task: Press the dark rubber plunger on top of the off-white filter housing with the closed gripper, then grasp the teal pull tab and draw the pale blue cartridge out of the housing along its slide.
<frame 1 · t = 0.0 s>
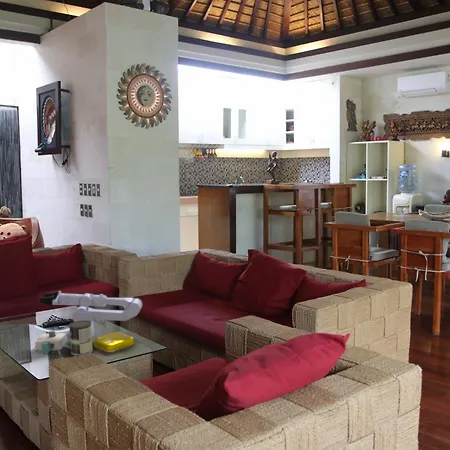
hand: (42, 298, 287), 22 cm above the table, tool horizontal, fingers open, 7 cm apart
cartridge: (49, 343, 274), point 3 cm above the table, slide at 0.0 cm
coffee can: (82, 352, 269), on the table
plunger: (52, 333, 280), point 6 cm above the table, slide at 0.0 cm
element tile: (114, 346, 276), on the table
housing: (51, 346, 279), on the table
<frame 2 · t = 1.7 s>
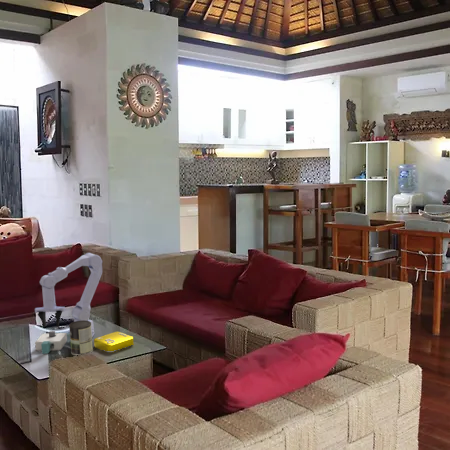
hand: (51, 325, 279), 10 cm above the table, tool pointing down, fingers open, 6 cm apart
nothing on the table moved.
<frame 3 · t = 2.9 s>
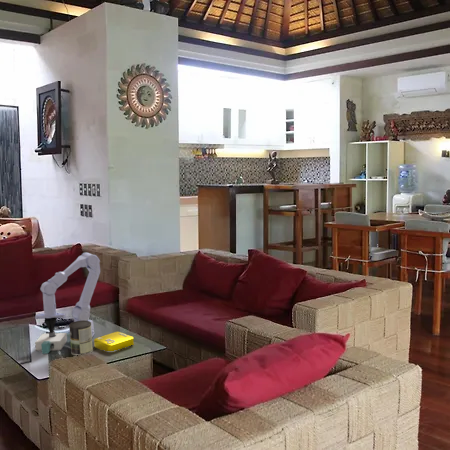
hand: (51, 332, 280), 7 cm above the table, tool pointing down, fingers closed, pressing on plunger
plunger: (52, 334, 280), point 5 cm above the table, slide at 0.2 cm, touching gripper
everything else where it was.
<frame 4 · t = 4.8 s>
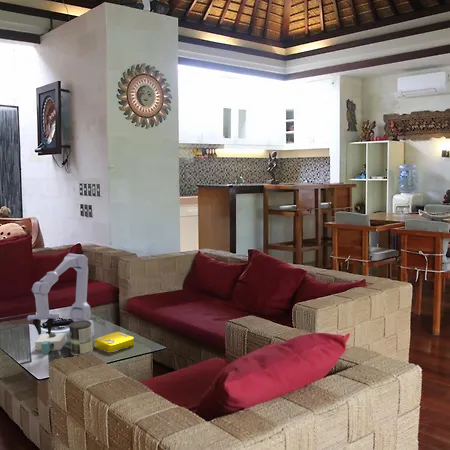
hand: (44, 333, 269), 9 cm above the table, tool pointing down, fingers open, 4 cm apart
plunger: (52, 335, 280), point 5 cm above the table, slide at 0.8 cm
everything else where it was.
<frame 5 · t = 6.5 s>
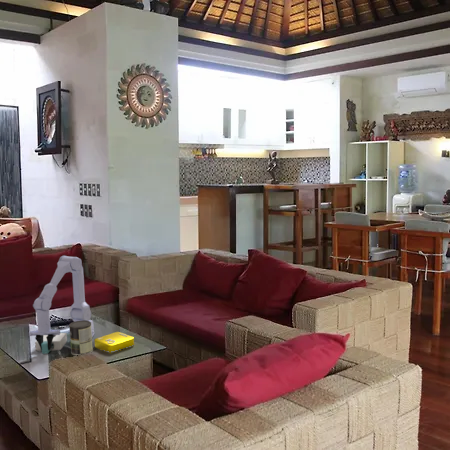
hand: (46, 349, 270), 2 cm above the table, tool pointing down, fingers closed on cartridge, 3 cm apart
cartridge: (49, 343, 274), point 3 cm above the table, slide at 0.0 cm, touching gripper
everything else where it was.
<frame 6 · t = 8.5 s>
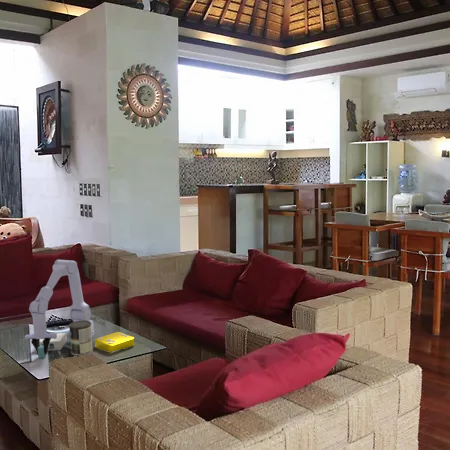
hand: (42, 353, 264), 2 cm above the table, tool pointing down, fingers closed on cartridge, 3 cm apart
cartridge: (45, 347, 269), point 3 cm above the table, slide at 5.6 cm, touching gripper
everything else where it was.
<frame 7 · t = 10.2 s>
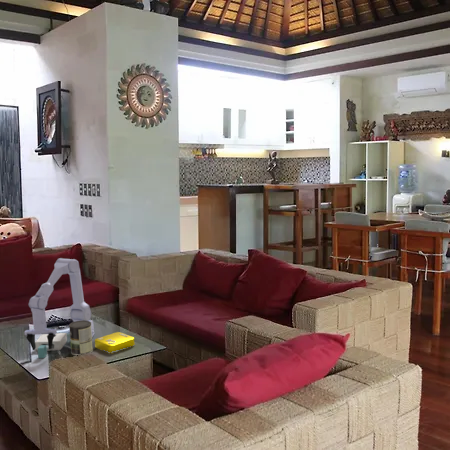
hand: (42, 348, 264), 4 cm above the table, tool pointing down, fingers open, 7 cm apart
cartridge: (45, 347, 269), point 3 cm above the table, slide at 5.6 cm
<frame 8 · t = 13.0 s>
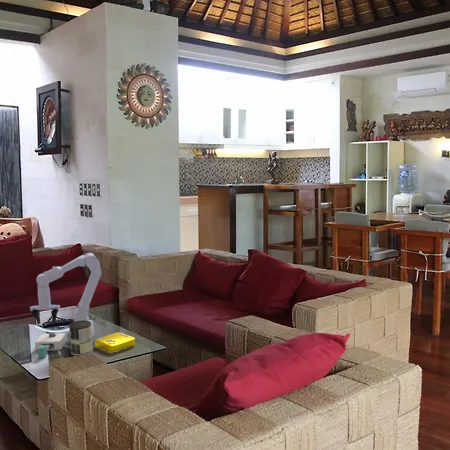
hand: (46, 323, 283), 10 cm above the table, tool pointing down, fingers open, 7 cm apart
at the end: cartridge slide at 5.6 cm; plunger slide at 0.8 cm; the gripper is holding nothing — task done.
